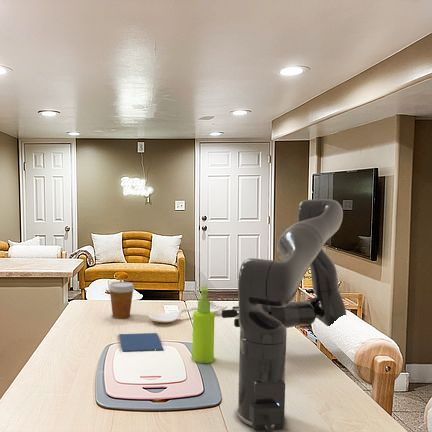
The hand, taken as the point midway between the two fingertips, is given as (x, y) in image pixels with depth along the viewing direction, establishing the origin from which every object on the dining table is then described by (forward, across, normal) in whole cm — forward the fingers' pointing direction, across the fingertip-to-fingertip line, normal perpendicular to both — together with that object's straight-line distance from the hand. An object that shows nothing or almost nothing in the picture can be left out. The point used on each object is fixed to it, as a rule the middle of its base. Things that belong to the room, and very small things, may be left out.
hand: (228, 318), depth 122 cm
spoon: (-1, -37, +11) cm, 39 cm away
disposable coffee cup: (+22, -44, +11) cm, 51 cm away
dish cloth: (+22, -16, +11) cm, 29 cm away
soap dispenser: (+8, 0, +11) cm, 13 cm away
